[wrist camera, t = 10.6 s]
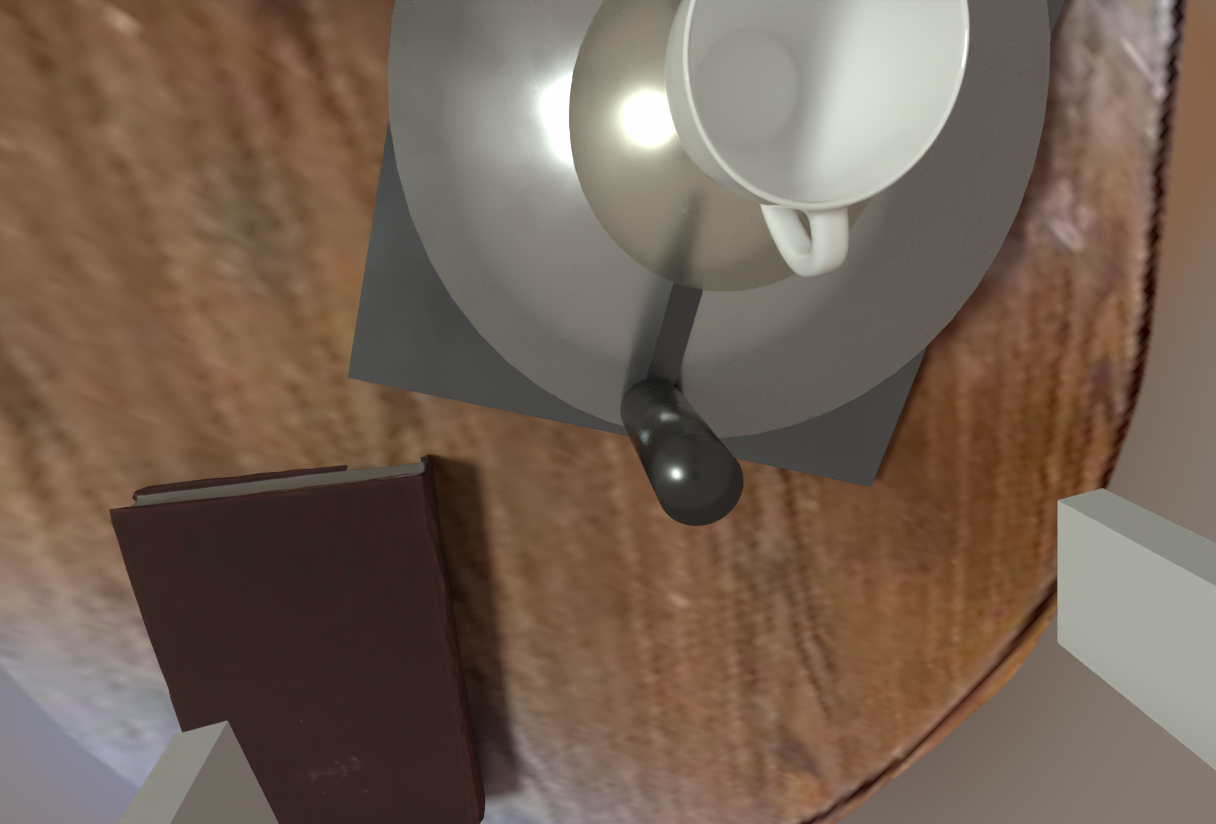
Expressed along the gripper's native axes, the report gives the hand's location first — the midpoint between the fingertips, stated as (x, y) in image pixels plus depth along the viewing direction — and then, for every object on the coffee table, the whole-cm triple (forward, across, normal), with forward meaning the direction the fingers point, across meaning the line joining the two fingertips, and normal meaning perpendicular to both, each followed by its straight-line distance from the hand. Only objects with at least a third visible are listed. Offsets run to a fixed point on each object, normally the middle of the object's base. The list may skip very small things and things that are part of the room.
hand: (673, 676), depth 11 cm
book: (+21, -14, -11) cm, 27 cm away
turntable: (+18, +8, +8) cm, 22 cm away
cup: (+17, +8, +8) cm, 20 cm away
